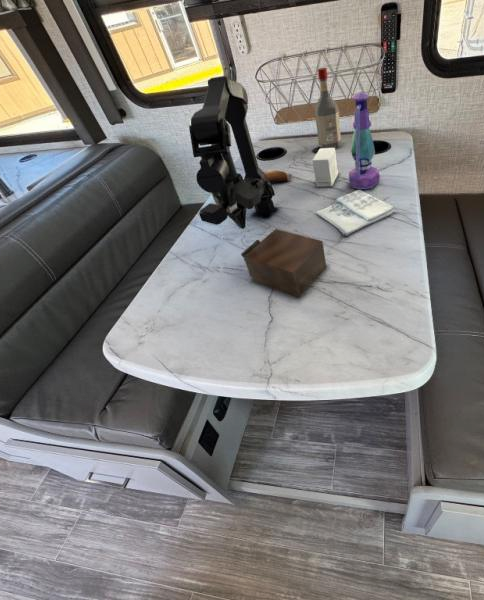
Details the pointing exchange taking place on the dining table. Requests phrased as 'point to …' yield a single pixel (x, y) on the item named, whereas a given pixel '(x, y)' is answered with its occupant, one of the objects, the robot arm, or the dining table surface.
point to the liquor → (327, 115)
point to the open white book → (355, 211)
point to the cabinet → (286, 262)
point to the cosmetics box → (325, 167)
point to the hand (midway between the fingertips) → (243, 228)
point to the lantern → (362, 147)
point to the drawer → (250, 250)
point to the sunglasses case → (277, 176)
